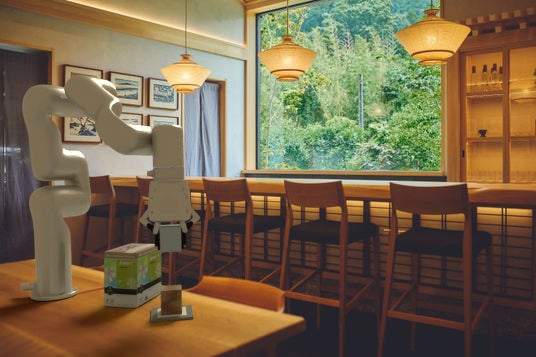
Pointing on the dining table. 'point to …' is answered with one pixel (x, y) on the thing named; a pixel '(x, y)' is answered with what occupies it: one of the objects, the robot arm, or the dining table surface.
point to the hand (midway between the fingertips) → (170, 248)
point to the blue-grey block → (170, 238)
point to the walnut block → (171, 300)
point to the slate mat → (185, 314)
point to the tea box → (131, 275)
